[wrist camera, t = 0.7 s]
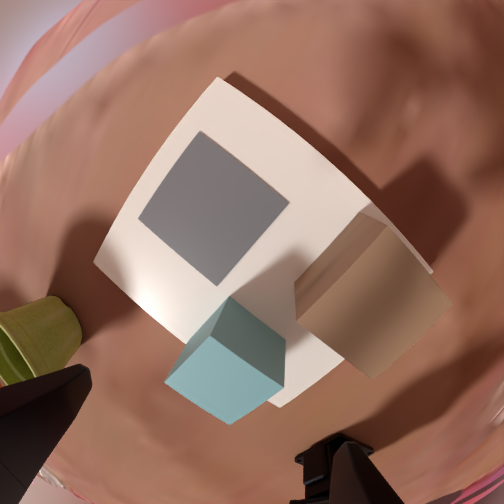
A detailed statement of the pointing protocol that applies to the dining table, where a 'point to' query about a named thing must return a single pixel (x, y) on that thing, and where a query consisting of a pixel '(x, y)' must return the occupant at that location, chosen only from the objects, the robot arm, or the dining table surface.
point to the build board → (234, 226)
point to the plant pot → (37, 339)
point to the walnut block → (368, 296)
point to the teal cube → (230, 363)
